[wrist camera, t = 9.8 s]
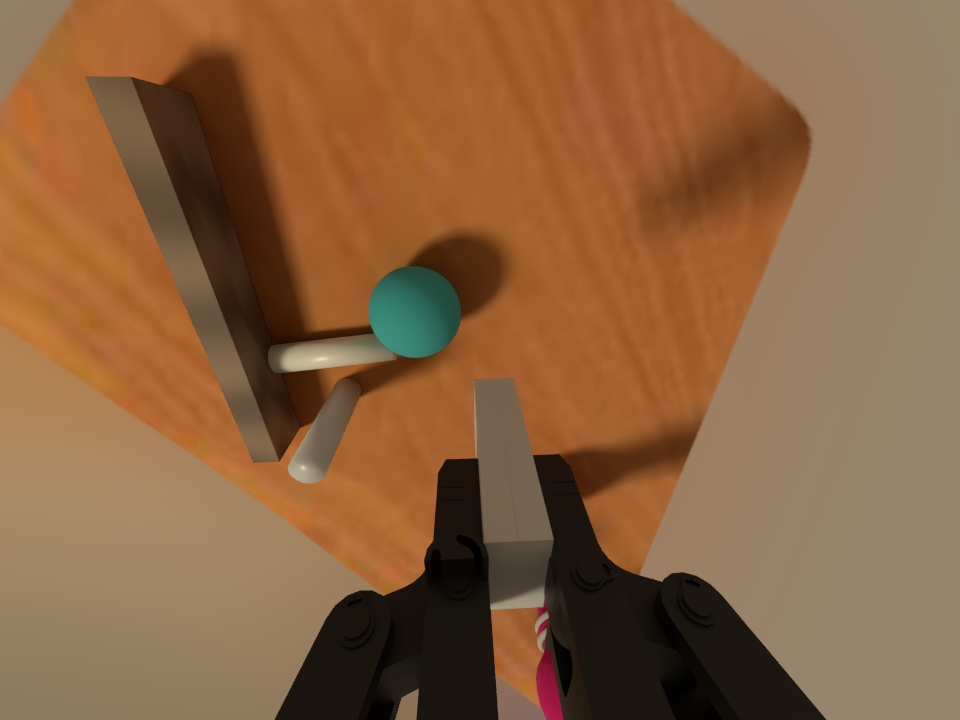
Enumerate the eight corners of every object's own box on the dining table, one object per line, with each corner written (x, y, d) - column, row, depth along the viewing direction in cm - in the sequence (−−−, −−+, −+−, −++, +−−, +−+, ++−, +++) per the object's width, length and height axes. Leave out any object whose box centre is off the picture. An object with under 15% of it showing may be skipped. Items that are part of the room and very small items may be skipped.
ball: (454, 379, 22) (357, 368, 21) (452, 340, 28) (374, 329, 27) (471, 290, 20) (361, 272, 19) (465, 265, 25) (379, 250, 24)
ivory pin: (392, 325, 27) (276, 339, 27) (387, 342, 25) (263, 356, 25) (398, 349, 28) (288, 361, 28) (395, 365, 26) (277, 379, 26)
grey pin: (363, 399, 30) (328, 482, 22) (337, 400, 30) (293, 484, 22) (359, 378, 29) (321, 457, 21) (332, 378, 29) (283, 458, 21)
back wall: (299, 428, 31) (279, 461, 27) (276, 429, 31) (253, 462, 27) (190, 93, 19) (130, 76, 16) (153, 93, 19) (85, 76, 16)
